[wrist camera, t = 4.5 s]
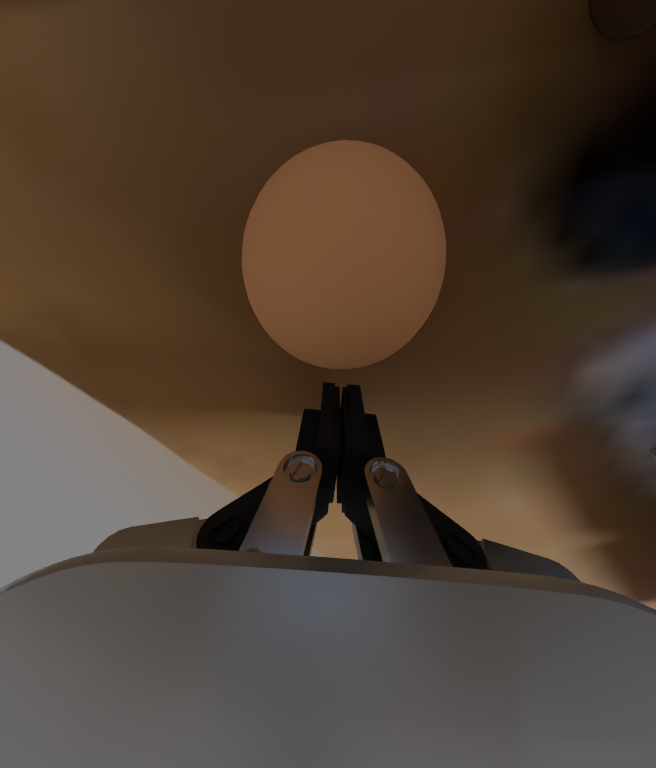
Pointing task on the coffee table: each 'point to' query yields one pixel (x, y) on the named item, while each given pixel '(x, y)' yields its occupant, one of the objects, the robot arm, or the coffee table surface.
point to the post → (623, 17)
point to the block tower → (653, 455)
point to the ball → (344, 254)
